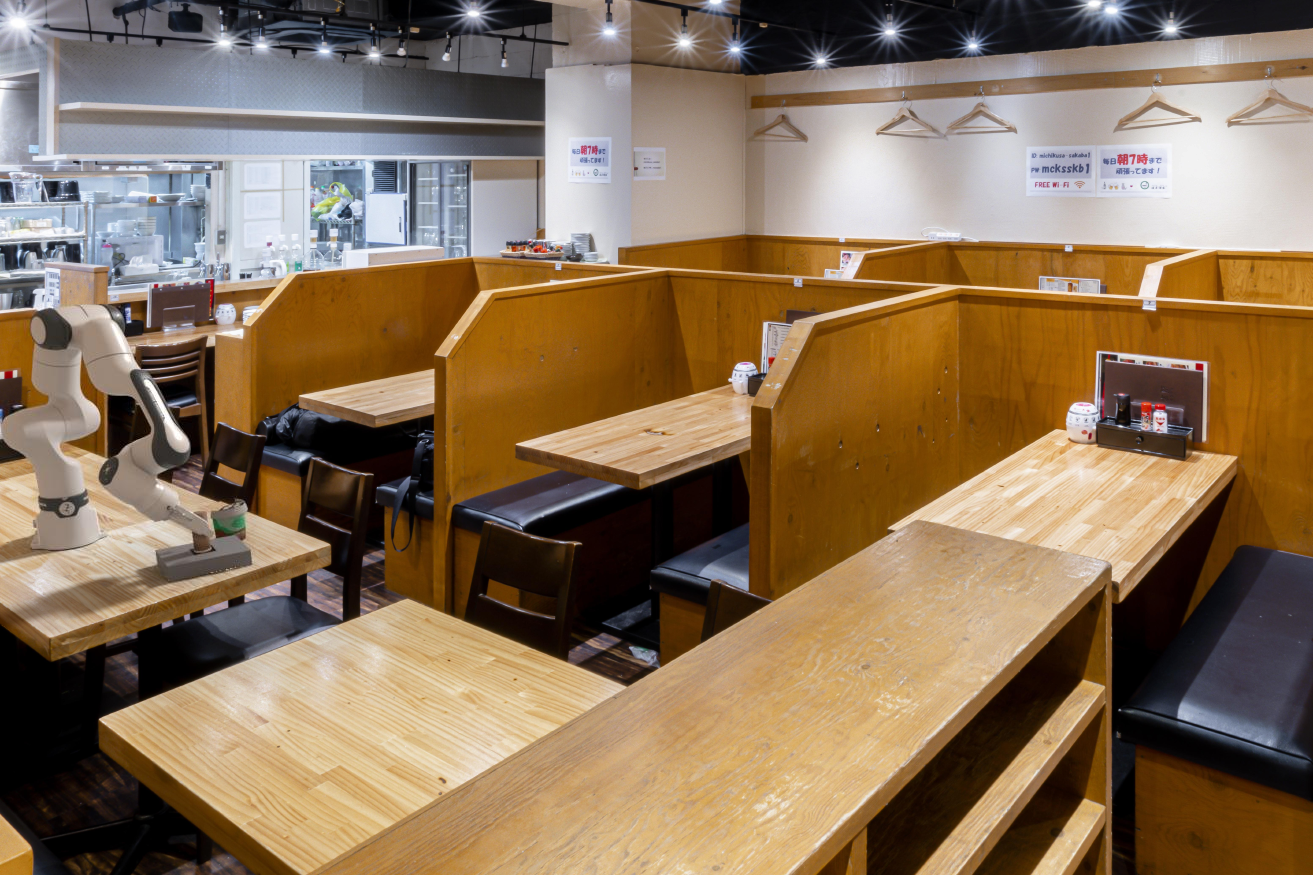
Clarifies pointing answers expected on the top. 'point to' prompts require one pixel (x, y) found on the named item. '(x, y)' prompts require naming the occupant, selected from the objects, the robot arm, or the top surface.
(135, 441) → the robot arm
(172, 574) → the board
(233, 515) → the food container
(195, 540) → the peg
